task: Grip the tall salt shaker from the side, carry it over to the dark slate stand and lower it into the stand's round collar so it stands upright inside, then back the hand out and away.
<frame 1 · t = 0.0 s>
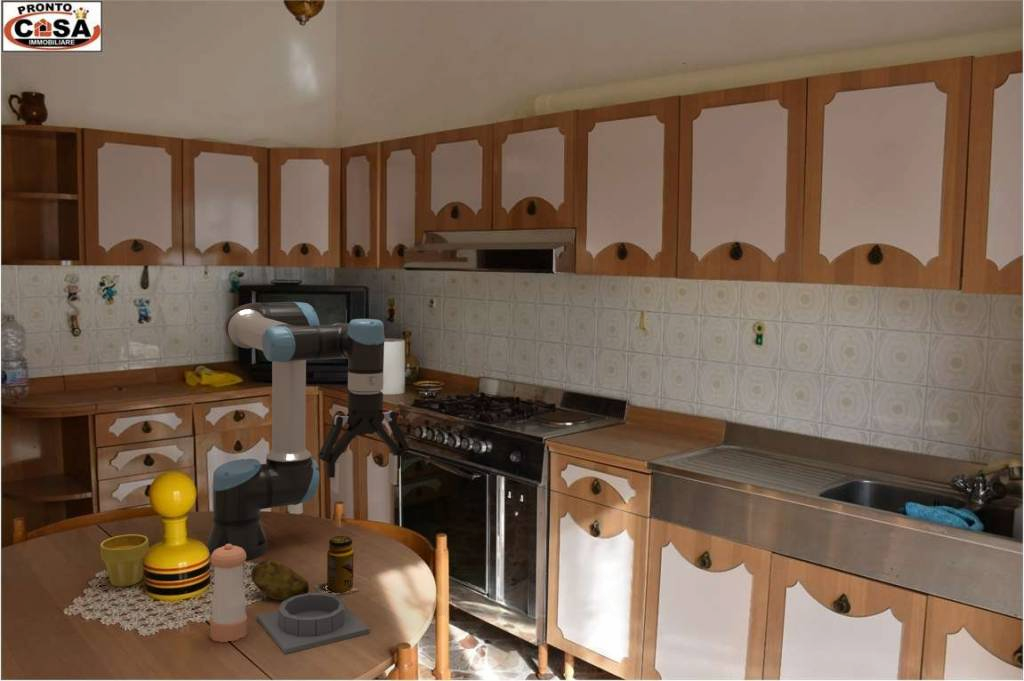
hand: (364, 487, 185), 28 cm above the table, tool pointing down, fingers open, 13 cm apart
condiment: (336, 589, 200), on the table
plant pot: (125, 582, 200), on the table
potato: (279, 597, 194), on the table
collar stand: (312, 626, 180), on the table
salt shaker: (228, 635, 175), on the table
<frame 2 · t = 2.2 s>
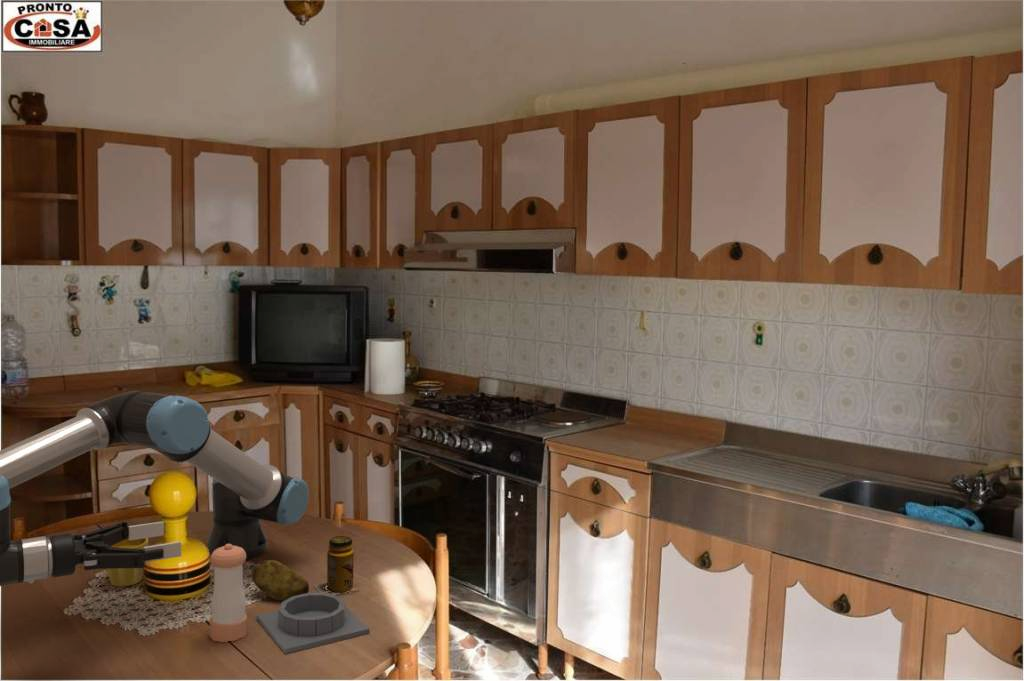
hand: (172, 538, 167), 22 cm above the table, tool horizontal, fingers open, 13 cm apart
nothing on the table moved.
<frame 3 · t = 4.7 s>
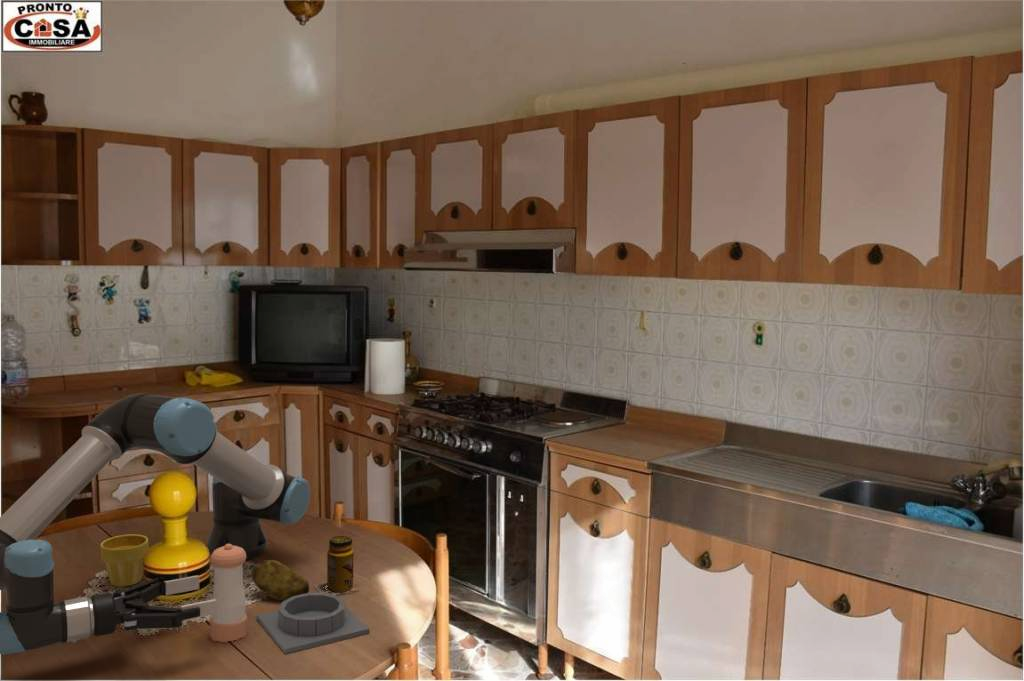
hand: (207, 593, 172), 10 cm above the table, tool horizontal, fingers open, 13 cm apart
nothing on the table moved.
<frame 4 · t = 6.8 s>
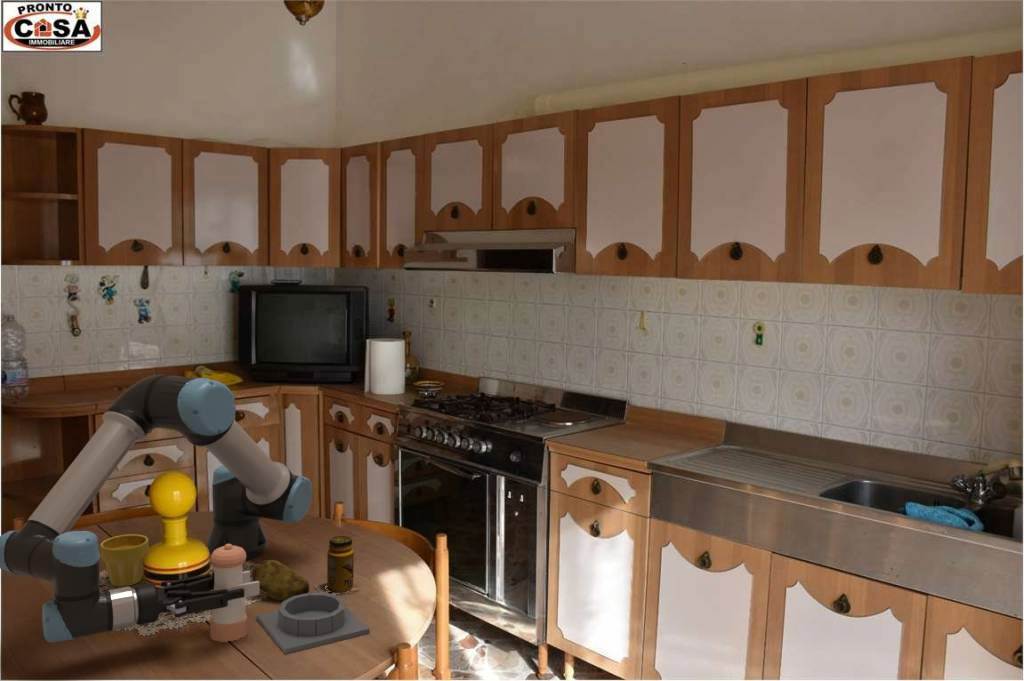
hand: (253, 582, 177), 10 cm above the table, tool horizontal, fingers closed on salt shaker, 5 cm apart
salt shaker: (228, 635, 175), on the table, touching gripper
everything else where it was.
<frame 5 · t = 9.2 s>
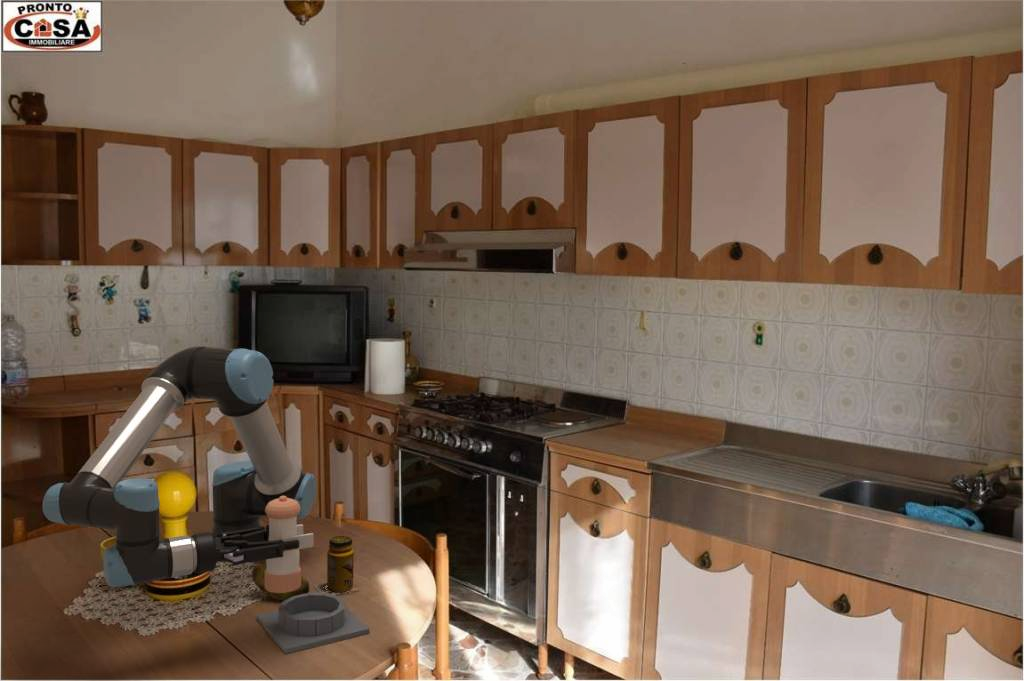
hand: (307, 535, 178), 20 cm above the table, tool horizontal, fingers closed on salt shaker, 5 cm apart
salt shaker: (282, 586, 177), point 10 cm above the table, touching gripper
everything else where it was.
when the fingers open (12 cm above the table, at t = 11.8 s): salt shaker drops 1 cm, resting on collar stand.
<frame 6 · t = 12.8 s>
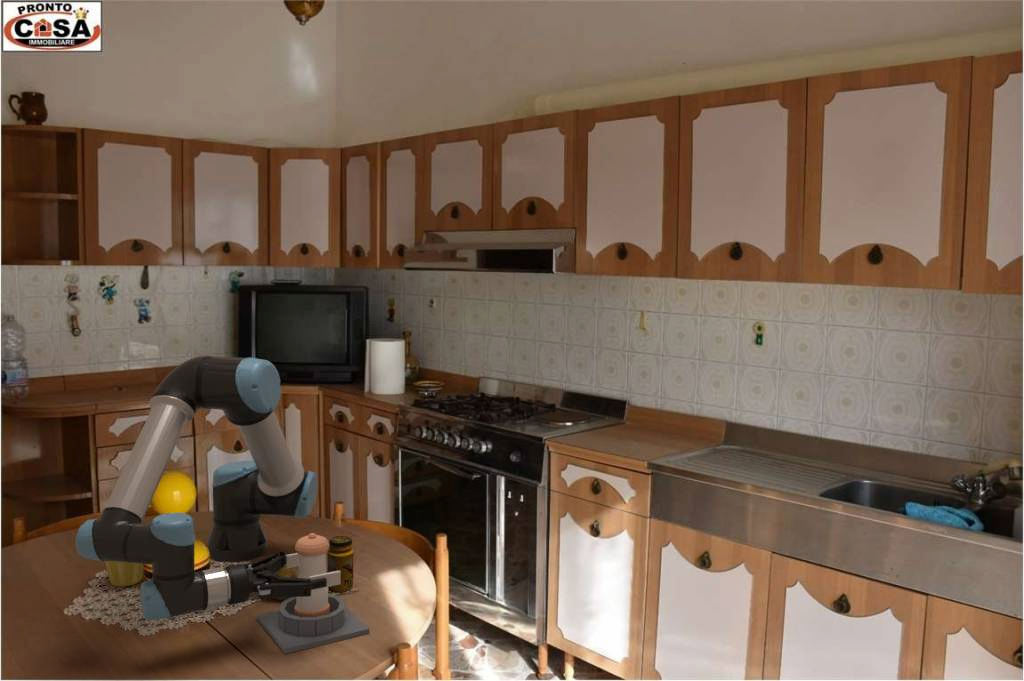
hand: (327, 566, 181), 12 cm above the table, tool horizontal, fingers open, 13 cm apart
salt shaker: (312, 622, 180), point 1 cm above the table, touching collar stand
everything else where it was.
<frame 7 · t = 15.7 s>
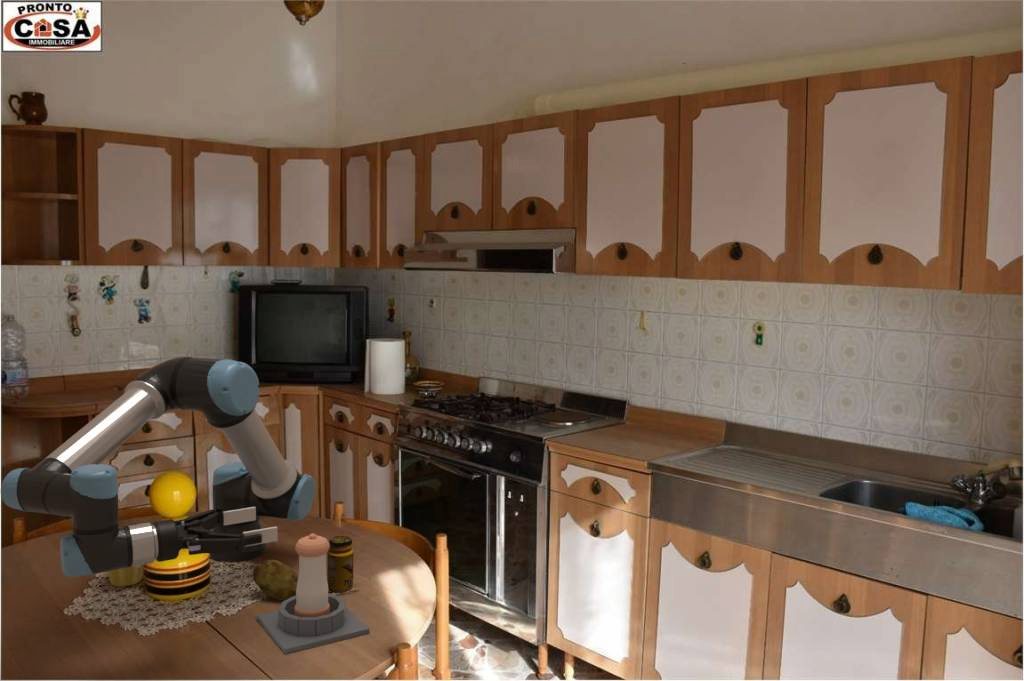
hand: (266, 523, 172), 24 cm above the table, tool horizontal, fingers open, 13 cm apart
nothing on the table moved.
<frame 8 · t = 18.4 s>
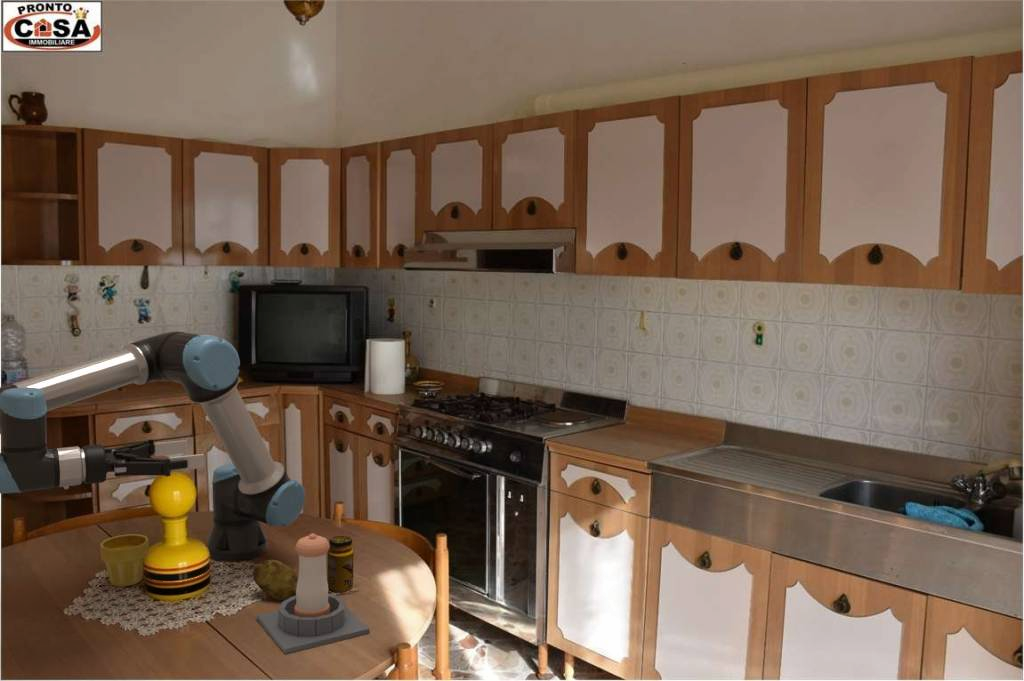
hand: (195, 453, 178), 36 cm above the table, tool horizontal, fingers open, 13 cm apart
nothing on the table moved.
at the end: salt shaker 0.0 cm off-centre on the collar stand, point 0.8 cm above the collar stand's base; salt shaker tilted 0°; the gripper is holding nothing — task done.
